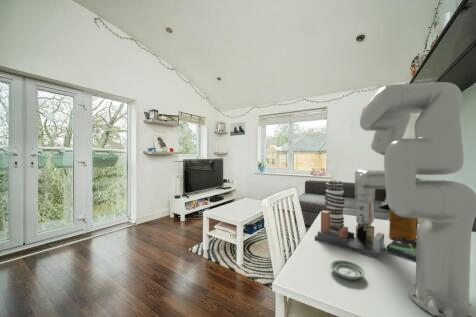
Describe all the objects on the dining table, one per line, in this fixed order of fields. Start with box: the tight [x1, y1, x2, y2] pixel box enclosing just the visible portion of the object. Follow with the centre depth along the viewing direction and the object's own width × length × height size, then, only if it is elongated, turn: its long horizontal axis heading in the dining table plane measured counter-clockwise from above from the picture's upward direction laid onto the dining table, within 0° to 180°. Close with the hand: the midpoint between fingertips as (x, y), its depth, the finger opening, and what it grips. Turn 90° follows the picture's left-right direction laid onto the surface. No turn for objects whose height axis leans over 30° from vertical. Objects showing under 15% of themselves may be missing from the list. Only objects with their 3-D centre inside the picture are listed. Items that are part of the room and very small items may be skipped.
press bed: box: [314, 227, 386, 259], centre depth 86 cm, size 11×24×6 cm, turn 44°
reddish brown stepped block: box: [320, 210, 349, 238], centre depth 90 cm, size 7×10×10 cm
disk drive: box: [386, 237, 417, 262], centre depth 79 cm, size 10×3×15 cm
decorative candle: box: [324, 179, 346, 229], centre depth 101 cm, size 9×9×25 cm
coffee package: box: [388, 209, 419, 241], centre depth 91 cm, size 10×12×22 cm
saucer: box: [329, 259, 366, 280], centre depth 64 cm, size 10×10×2 cm
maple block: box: [355, 224, 375, 242], centre depth 90 cm, size 5×6×7 cm
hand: (364, 236), depth 90 cm, fingers open, 8 cm apart
